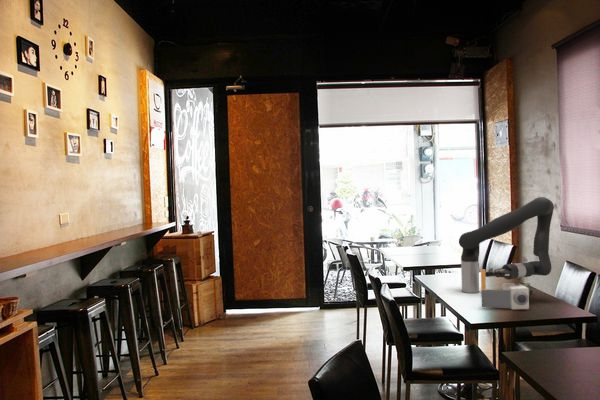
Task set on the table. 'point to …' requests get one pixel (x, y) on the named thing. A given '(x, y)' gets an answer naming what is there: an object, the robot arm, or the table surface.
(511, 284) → the camera body
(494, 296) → the side door
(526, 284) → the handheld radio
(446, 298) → the table surface
